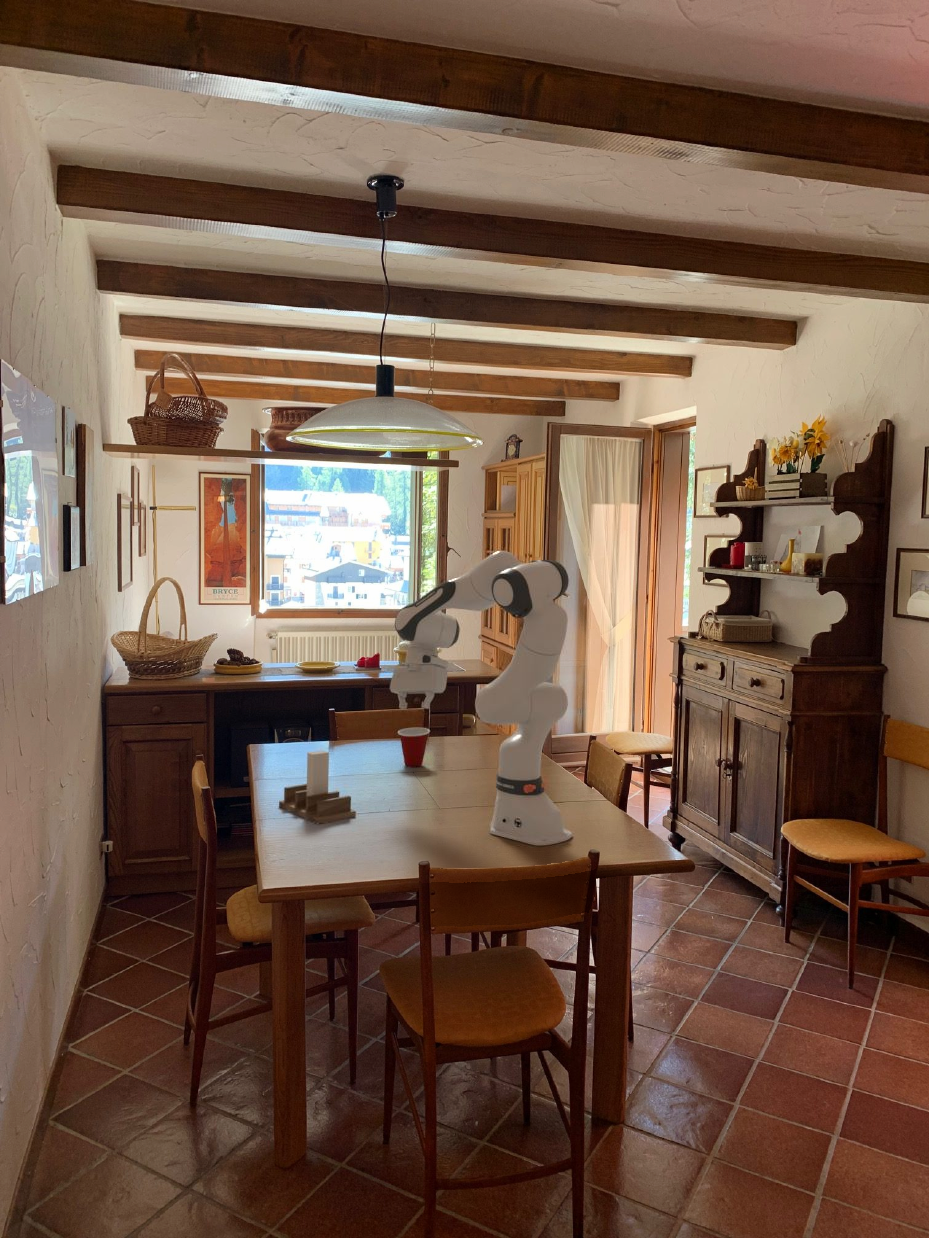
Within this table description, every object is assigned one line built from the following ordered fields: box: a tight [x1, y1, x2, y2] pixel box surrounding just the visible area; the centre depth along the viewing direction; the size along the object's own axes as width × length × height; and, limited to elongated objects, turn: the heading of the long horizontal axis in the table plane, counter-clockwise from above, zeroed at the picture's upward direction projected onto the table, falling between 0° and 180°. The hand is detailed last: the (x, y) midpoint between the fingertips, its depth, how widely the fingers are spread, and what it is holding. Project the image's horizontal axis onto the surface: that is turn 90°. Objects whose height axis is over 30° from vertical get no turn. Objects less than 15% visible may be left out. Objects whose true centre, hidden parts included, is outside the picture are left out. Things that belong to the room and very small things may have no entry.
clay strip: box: [306, 749, 330, 796], centre depth 254 cm, size 3×5×15 cm, turn 131°
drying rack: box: [278, 783, 357, 824], centre depth 254 cm, size 20×12×6 cm, turn 42°
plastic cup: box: [397, 727, 431, 768], centre depth 311 cm, size 11×11×12 cm
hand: (413, 708), depth 263 cm, fingers open, 8 cm apart
